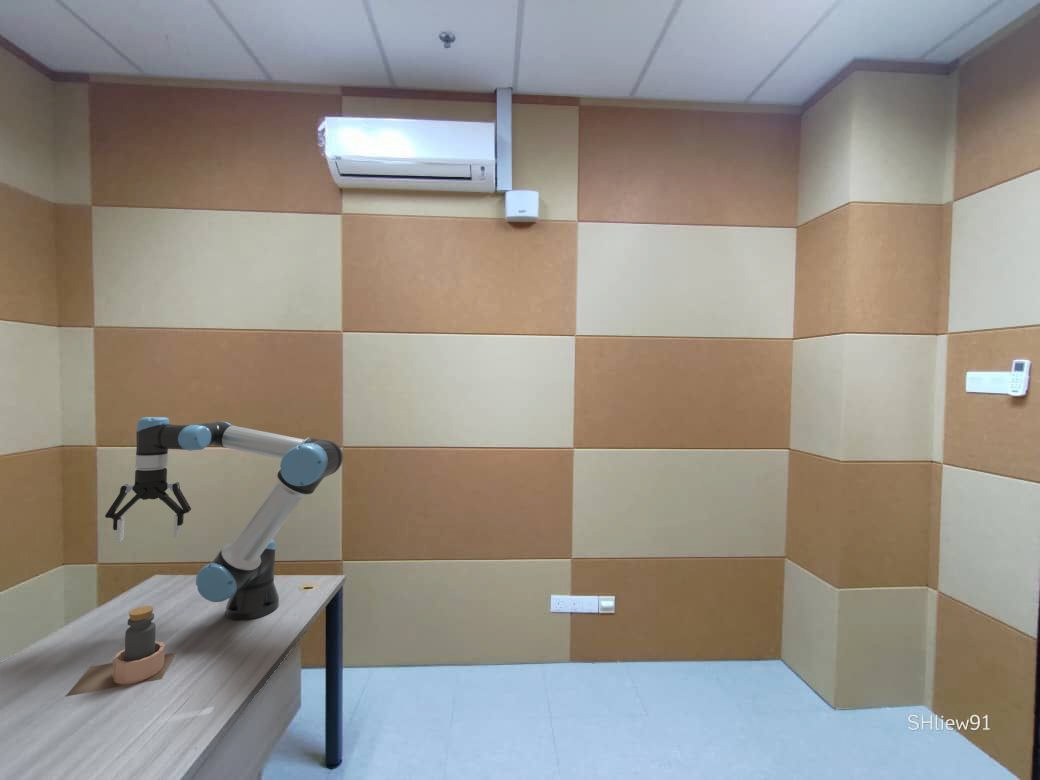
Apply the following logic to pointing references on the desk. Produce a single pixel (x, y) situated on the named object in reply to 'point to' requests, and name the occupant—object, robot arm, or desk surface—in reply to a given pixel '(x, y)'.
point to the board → (109, 677)
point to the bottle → (140, 634)
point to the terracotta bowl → (138, 666)
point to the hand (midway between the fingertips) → (148, 538)
